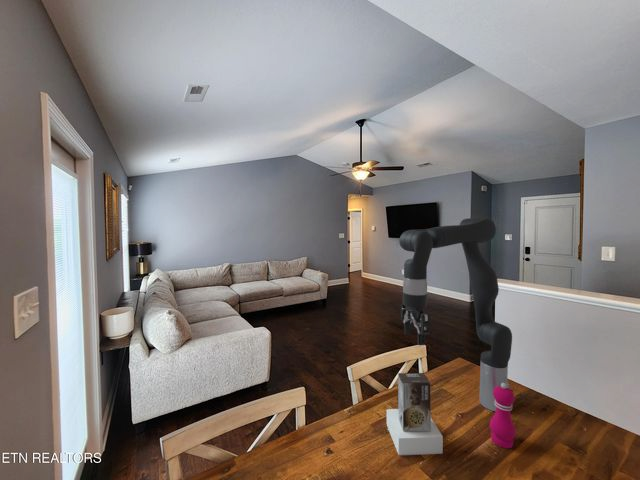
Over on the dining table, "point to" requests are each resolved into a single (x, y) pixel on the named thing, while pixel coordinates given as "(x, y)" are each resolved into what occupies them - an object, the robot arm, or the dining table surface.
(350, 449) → the dining table surface
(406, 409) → the coffee box
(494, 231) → the robot arm
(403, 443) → the riser block
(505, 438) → the pepper mill
